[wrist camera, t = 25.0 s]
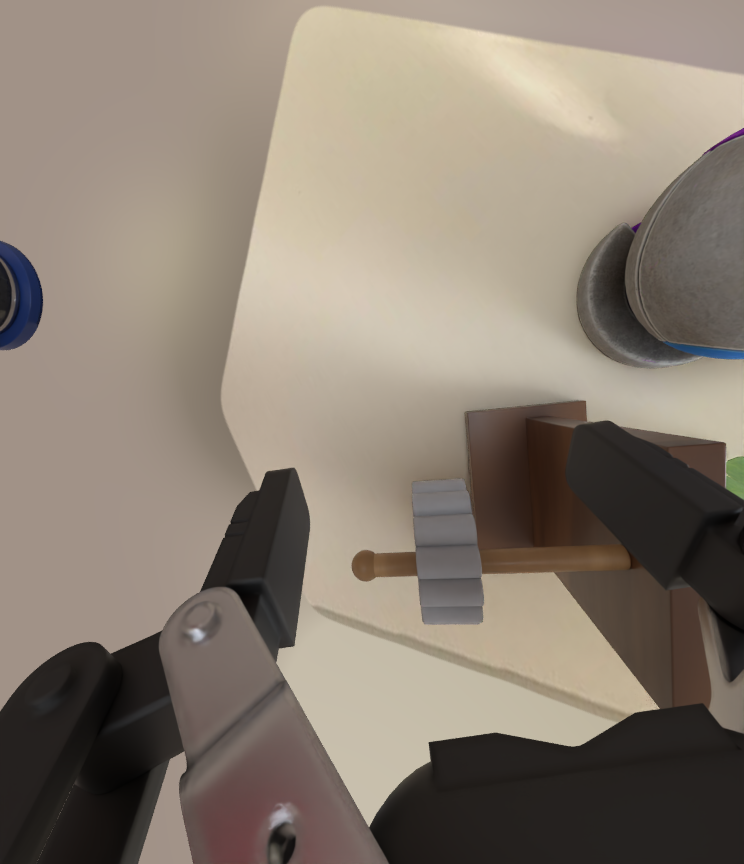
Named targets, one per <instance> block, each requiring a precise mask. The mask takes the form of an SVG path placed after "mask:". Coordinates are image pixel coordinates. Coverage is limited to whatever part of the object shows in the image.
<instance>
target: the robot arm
mask: <svg viewBox="0 0 744 864" xmlns="http://www.w3.org/2000/svg"><path fill="white" fill-rule="evenodd" d="M19 307H20V289H19V284H18V281H17V278H16V275H15V273H14V271H13V269H12V268H11V266H10V265H9V263H8V262H7V261H6V260H5V259H4V258H3V257H2V256H1V255H0V334H2V333H4V332H5V331H7V330H8V329H9V328H10V327H11V325H12V324H13V323H14V321H15V319H16V317H17V314H18V311H19ZM565 477H566V481H567V483H568V485H569V487H570V489H571V490H572V491H573V492H574V493H575V495H576V496H577V497H578V498H579V499H580V500H581V501H582V502H583V503H584V504H585V505H586V506H587V507H588V508H589V509H590V510H591V512H592V513H593V514H594V515H595V516H596V517H597V518H598V519H599V520H600V521H601V522H602V523H603V524H604V525H605V526H606V527H607V529H608V530H609V531H610V532H611V533H612V534H613V535H614V536H615V537H616V538H617V539H618V540H619V541H620V542H621V543H622V545H623V546H624V547H625V548H626V549H627V550H628V551H629V552H630V553H631V554H632V555H633V556H634V557H635V558H636V559H637V560H638V562H639V563H640V564H641V565H642V566H643V567H644V568H645V569H646V570H647V571H648V572H649V573H650V574H651V575H652V576H653V577H654V579H655V580H656V581H657V582H658V583H659V584H660V585H661V586H662V587H663V588H664V589H665V590H673V589H680V588H687V587H692V588H693V589H694V590H695V591H696V592H697V593H698V594H699V595H700V596H701V597H700V599H699V600H698V604H697V607H698V613H699V619H700V625H701V630H702V636H703V642H704V647H705V653H706V659H707V664H708V670H709V676H710V681H711V690H712V694H711V703H710V706H709V710H708V709H707V707H706V706H705V705H704V704H703V703H699V704H692V705H685V706H678V707H672V708H665V709H658V710H651V711H644V712H637V713H634V714H632V715H631V716H629V717H627V718H626V719H624V720H622V721H621V722H619V723H618V724H616V725H614V726H613V727H611V728H609V729H608V730H606V731H604V732H603V733H601V734H599V735H598V736H596V737H595V738H593V739H591V740H590V741H588V742H586V743H585V744H583V745H581V746H575V747H571V746H564V745H559V744H554V743H548V742H543V741H537V740H532V739H526V738H521V737H516V736H511V735H506V734H500V733H490V734H483V735H476V736H469V737H462V738H456V739H448V740H442V741H434V742H429V750H430V759H431V762H429V763H427V764H425V765H423V766H422V767H420V768H418V769H416V770H415V771H414V772H413V773H412V774H410V775H409V776H408V777H407V778H405V779H404V780H403V781H402V782H401V783H400V784H399V785H398V787H397V788H396V789H395V790H394V791H393V792H392V793H391V794H390V795H389V797H388V798H387V799H386V801H385V802H384V804H383V805H382V807H381V808H380V810H379V811H378V812H377V814H376V816H375V818H374V819H373V821H372V823H371V825H370V827H368V825H367V824H366V822H365V820H364V818H363V816H362V815H361V813H360V811H359V809H358V807H357V806H356V804H355V802H354V800H353V798H352V797H351V795H350V793H349V791H348V790H347V788H346V786H345V784H344V783H343V781H342V779H341V777H340V775H339V773H338V772H337V770H336V768H335V766H334V764H333V763H332V761H331V759H330V757H329V756H328V754H327V752H326V750H325V748H324V747H323V745H322V743H321V741H320V740H319V738H318V736H317V734H316V732H315V731H314V729H313V727H312V725H311V724H310V722H309V720H308V718H307V716H306V715H305V713H304V711H303V709H302V707H301V706H300V704H299V702H298V700H297V699H296V697H295V695H294V693H293V691H292V690H291V688H290V686H289V684H288V683H287V681H286V680H285V678H284V676H283V674H282V673H281V671H280V669H279V667H278V665H277V664H276V661H277V655H278V650H279V648H285V647H293V646H294V645H295V637H296V630H297V622H298V615H299V607H300V599H301V592H302V585H303V577H304V570H305V562H306V555H307V547H308V540H309V532H310V516H309V510H308V506H307V503H306V500H305V497H304V493H303V490H302V487H301V483H300V480H299V477H298V474H297V471H296V469H295V468H288V469H281V470H274V471H268V472H267V473H266V474H265V477H264V479H263V482H262V485H261V488H260V490H259V491H254V492H250V493H249V494H248V495H247V496H246V497H245V498H244V499H243V500H242V501H241V503H240V504H239V505H238V506H237V507H236V510H235V512H234V514H233V517H232V519H231V524H230V525H229V526H228V528H227V531H226V533H225V538H223V540H222V542H221V545H220V547H219V549H218V552H217V554H216V556H215V559H214V561H213V564H212V565H211V568H210V570H209V572H208V575H207V577H206V579H205V582H204V584H203V586H202V589H201V591H200V592H199V593H197V594H196V595H194V596H192V597H191V598H189V599H188V600H187V601H185V602H184V603H183V604H182V605H181V606H180V607H179V608H178V609H177V610H176V611H175V612H174V613H173V614H172V615H171V617H170V618H169V620H168V621H167V623H166V624H165V626H164V628H163V630H162V631H160V632H158V633H156V634H154V635H152V636H150V637H148V638H145V639H143V640H141V641H139V642H136V643H134V644H132V645H129V646H127V647H125V648H123V649H120V650H118V651H116V652H114V653H111V654H110V653H109V652H108V651H107V650H106V649H105V648H104V647H103V646H101V645H100V644H99V643H96V642H85V643H80V644H77V645H74V646H72V647H69V648H67V649H65V650H63V651H62V652H59V653H58V654H56V655H55V656H53V657H51V658H50V659H49V660H47V661H46V662H45V663H43V664H42V665H41V666H39V667H38V668H37V669H36V670H35V671H34V672H33V673H31V674H30V675H29V676H28V677H27V678H26V679H25V680H24V681H23V683H22V684H21V685H20V686H19V687H18V688H17V689H16V691H15V692H14V693H13V694H12V696H11V697H10V698H9V700H8V701H7V703H6V704H5V705H4V707H3V709H2V710H1V711H0V864H138V861H139V858H140V855H141V852H142V849H143V845H144V842H145V839H146V836H147V832H148V829H149V826H150V823H151V819H152V816H153V813H154V809H155V806H156V803H157V799H158V796H159V793H160V790H161V786H162V783H163V780H164V777H165V774H166V770H167V767H168V763H169V760H170V759H171V758H173V757H175V756H176V755H178V754H180V753H182V752H184V751H185V755H186V760H187V769H186V772H185V773H183V774H182V776H181V778H180V783H179V794H180V803H181V809H182V814H183V818H184V823H185V828H186V832H187V837H188V841H189V846H190V851H191V855H192V860H193V864H744V500H743V499H742V498H740V497H738V496H737V495H735V494H734V493H732V492H731V491H729V490H727V489H726V488H724V487H723V486H721V485H719V484H718V483H716V482H715V481H713V480H711V479H710V478H708V477H707V476H705V475H703V474H702V473H700V472H699V471H697V470H695V469H694V468H689V467H688V465H687V464H686V463H684V462H683V461H681V460H679V459H678V458H673V455H671V454H670V453H668V452H667V451H665V450H663V449H662V448H660V447H659V446H657V445H655V444H654V443H651V442H648V441H646V440H643V439H640V438H638V437H635V436H633V435H631V434H630V433H628V432H627V431H625V430H624V429H622V428H620V427H619V426H617V425H616V424H614V423H613V422H611V421H600V422H594V423H587V424H580V425H577V426H576V427H575V428H574V430H573V433H572V438H571V443H570V448H569V453H568V457H567V462H566V467H565ZM70 791H71V792H70ZM69 793H70V794H69ZM68 795H69V796H68ZM67 797H68V798H67ZM66 799H67V800H66ZM61 810H62V811H61ZM60 812H61V813H60ZM59 814H60V815H59ZM58 816H59V817H58ZM57 818H58V819H57ZM52 829H53V830H52ZM51 831H52V832H51ZM50 833H51V834H50ZM49 835H50V836H49ZM44 846H45V847H44ZM43 848H44V849H43ZM42 850H43V851H42ZM41 852H42V853H41ZM40 854H41V855H40Z"/></svg>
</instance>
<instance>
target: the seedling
mask: <svg viewBox="0 0 744 864" xmlns="http://www.w3.org/2000/svg"><path fill="white" fill-rule="evenodd" d="M726 473H727V474H728V476H727V475H726V489H727V490H729V491H731V492H732V493H734V494H735V495H737V496H738V497H740V498H742V499H743V500H744V457H737V458H734V459H731V460H729V461H727V462H726ZM729 476H730V477H731V478H730V477H729Z"/></svg>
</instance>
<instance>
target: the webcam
mask: <svg viewBox="0 0 744 864" xmlns="http://www.w3.org/2000/svg"><path fill="white" fill-rule="evenodd" d="M577 308H578V313H579V318H580V321H581V324H582V326H583V328H584V330H585V332H586V334H587V335H588V337H589V339H590V340H591V341H592V342H593V344H594V345H595V346H596V347H597V348H598V349H599V350H600V351H602V352H603V353H604V354H606V355H607V356H609V357H610V358H612V359H614V360H616V361H618V362H621V363H623V364H626V365H630V366H634V367H640V368H663V367H670V366H677V365H682V364H685V363H689V362H692V361H695V360H698V359H700V358H702V357H710V358H719V359H744V128H743V129H741V130H739V131H737V132H736V133H734V134H732V135H730V136H729V137H727V138H726V139H724V140H722V141H721V142H719V143H718V144H716V145H715V146H713V147H712V148H710V149H709V150H708V151H706V152H705V153H704V154H703V155H702V156H701V157H700V158H699V159H698V160H697V161H695V162H694V163H693V164H692V165H691V166H690V167H688V168H687V169H686V170H685V171H684V172H683V173H682V174H681V175H679V176H678V177H677V178H676V179H675V180H674V181H673V182H672V183H671V184H670V185H669V186H668V187H667V188H666V190H665V191H664V192H663V193H662V194H661V195H660V197H659V198H658V199H657V200H656V202H655V203H654V204H653V206H652V207H651V208H650V210H649V211H648V212H647V214H646V215H645V217H644V219H643V221H642V222H641V223H639V224H637V225H635V226H634V227H632V228H631V227H630V226H629V225H628V224H627V223H622V224H620V225H618V226H617V227H615V228H614V229H613V230H612V231H611V232H610V233H609V234H608V235H606V236H605V237H604V238H603V239H602V240H601V241H600V243H599V244H598V245H597V246H596V248H595V249H594V250H593V251H592V253H591V255H590V256H589V258H588V260H587V262H586V264H585V266H584V268H583V270H582V273H581V276H580V280H579V284H578V290H577Z"/></svg>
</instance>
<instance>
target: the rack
mask: <svg viewBox="0 0 744 864" xmlns="http://www.w3.org/2000/svg"><path fill="white" fill-rule="evenodd" d="M465 420H466V432H467V445H468V457H469V469H470V482H471V494H472V506H473V516H474V519H475V524H476V530H477V545H478V548H479V553H480V558H481V566H482V574H504V573H540V572H554V573H555V574H556V575H557V577H558V578H559V579H560V581H561V582H562V583H563V584H564V586H565V587H566V588H567V590H568V591H569V592H570V593H571V595H572V596H573V597H574V599H575V600H576V601H577V602H578V604H579V605H580V606H581V608H582V609H583V610H584V611H585V613H586V614H587V615H588V617H589V618H590V619H591V620H592V622H593V623H594V624H595V626H596V627H597V628H598V629H599V631H600V632H601V633H602V635H603V636H604V637H605V639H606V640H607V641H608V642H609V644H610V645H611V646H612V648H613V649H614V650H615V651H616V653H617V654H618V655H619V657H620V658H621V659H622V660H623V662H624V663H625V664H626V666H627V667H628V668H629V669H630V671H631V672H632V673H633V675H634V676H635V677H636V678H637V680H638V681H639V682H640V684H641V685H642V686H643V687H644V689H645V690H646V691H647V693H648V694H649V695H650V696H651V698H652V699H653V700H654V702H655V703H656V704H657V705H658V707H659V708H660V709H665V708H672V707H678V706H685V705H692V704H699V703H703V704H704V705H705V706H706V707H707V709H708V710H709V706H710V703H711V694H712V690H711V681H710V676H709V670H708V664H707V659H706V653H705V647H704V642H703V636H702V630H701V625H700V619H699V613H698V607H697V604H698V600H699V599H700V597H701V596H700V595H699V594H698V593H697V592H696V591H695V590H694V589H693V588H692V587H687V588H680V589H673V590H665V589H664V588H663V587H662V586H661V585H660V584H659V583H658V582H657V581H656V580H655V579H654V577H653V576H652V575H651V574H650V573H649V572H648V571H647V570H646V569H645V568H644V567H643V566H642V565H641V564H640V563H639V562H638V560H637V559H636V558H635V557H634V556H633V555H632V554H631V553H630V552H629V551H628V550H627V549H626V548H625V547H624V546H623V545H622V543H621V542H620V541H619V540H618V539H617V538H616V537H615V536H614V535H613V534H612V533H611V532H610V531H609V530H608V529H607V527H606V526H605V525H604V524H603V523H602V522H601V521H600V520H599V519H598V518H597V517H596V516H595V515H594V514H593V513H592V512H591V510H590V509H589V508H588V507H587V506H586V505H585V504H584V503H583V502H582V501H581V500H580V499H579V498H578V497H577V496H576V495H575V493H574V492H573V491H572V490H571V489H570V487H569V485H568V483H567V481H566V477H565V467H566V462H567V457H568V453H569V448H570V443H571V438H572V433H573V430H574V428H575V427H576V426H577V425H580V424H587V423H593V422H587V415H586V401H578V400H577V401H567V402H557V403H547V404H537V405H527V406H517V407H507V408H497V409H487V410H477V411H467V412H465ZM620 428H622V429H624V430H625V431H627V432H628V433H630V434H631V435H633V436H635V437H638V438H640V439H643V440H646V441H648V442H651V443H654V444H655V445H657V446H659V447H660V448H662V449H663V450H665V451H667V452H668V453H670V454H671V455H673V458H678V459H679V460H681V461H683V462H684V463H686V464H687V465H688V467H689V468H694V469H695V470H697V471H699V472H700V473H702V474H703V475H705V476H707V477H708V478H710V479H711V480H713V481H715V482H716V483H718V484H719V485H721V486H723V487H724V488H726V443H724V442H718V441H711V440H704V439H698V438H691V437H685V436H678V435H672V434H665V433H659V432H652V431H646V430H639V429H632V428H626V427H620ZM352 571H353V573H354V575H355V576H356V577H357V578H358V579H359V580H361V581H371V580H373V579H374V578H376V577H396V576H418V575H417V564H416V552H403V553H377V554H375V553H374V552H372V551H369V550H363V551H360V552H359V553H357V554H356V555H355V557H354V558H353V561H352Z"/></svg>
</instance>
